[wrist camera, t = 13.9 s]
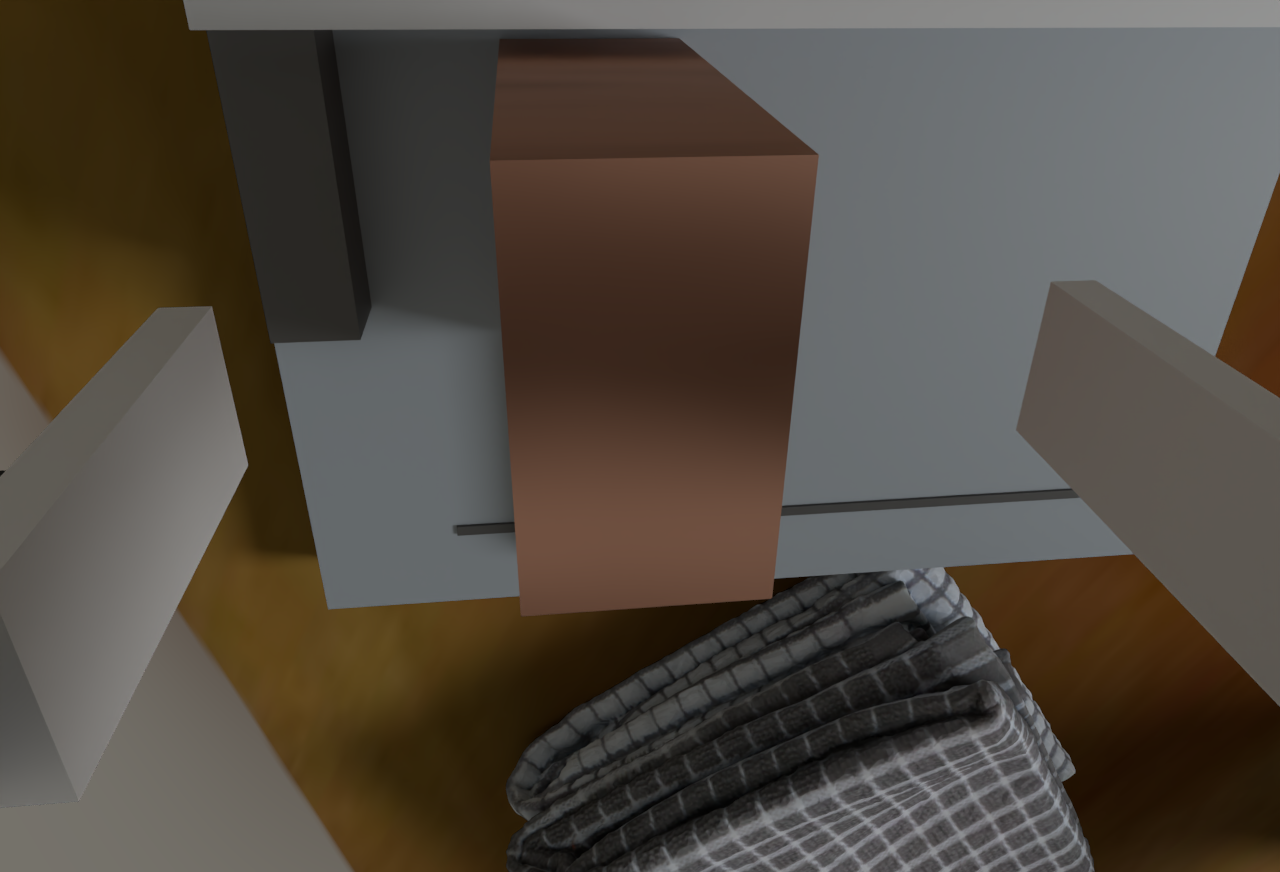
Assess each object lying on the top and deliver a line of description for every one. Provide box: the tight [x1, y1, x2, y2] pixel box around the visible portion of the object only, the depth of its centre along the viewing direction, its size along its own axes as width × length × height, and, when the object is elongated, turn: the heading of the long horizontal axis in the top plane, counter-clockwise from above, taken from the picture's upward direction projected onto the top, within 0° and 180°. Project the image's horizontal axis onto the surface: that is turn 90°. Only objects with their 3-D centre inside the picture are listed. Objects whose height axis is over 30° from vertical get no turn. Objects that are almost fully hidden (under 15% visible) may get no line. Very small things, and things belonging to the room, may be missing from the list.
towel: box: [506, 567, 1095, 872], centre depth 34 cm, size 15×18×8 cm
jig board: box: [183, 0, 1280, 609], centre depth 24 cm, size 18×26×6 cm
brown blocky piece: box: [490, 38, 819, 616], centre depth 19 cm, size 14×4×11 cm, turn 179°
